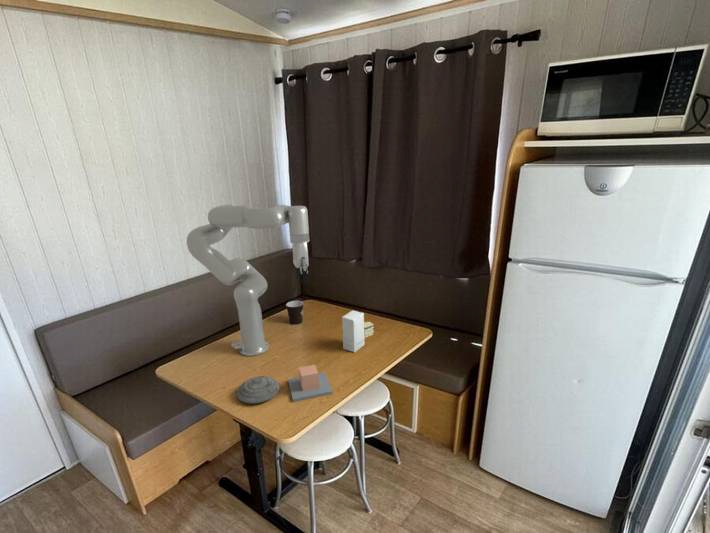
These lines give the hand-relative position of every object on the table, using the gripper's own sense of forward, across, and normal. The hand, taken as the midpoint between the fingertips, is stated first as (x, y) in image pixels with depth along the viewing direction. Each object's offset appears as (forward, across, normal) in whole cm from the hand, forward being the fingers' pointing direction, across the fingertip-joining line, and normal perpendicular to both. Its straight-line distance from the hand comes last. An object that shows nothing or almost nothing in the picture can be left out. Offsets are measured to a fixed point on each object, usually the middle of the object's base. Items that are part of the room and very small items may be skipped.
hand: (302, 279), depth 151 cm
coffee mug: (+34, -35, +1) cm, 48 cm away
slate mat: (+33, +25, -4) cm, 42 cm away
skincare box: (+34, +2, +20) cm, 39 cm away
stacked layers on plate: (+34, -8, +28) cm, 45 cm away
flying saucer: (+34, +22, -22) cm, 46 cm away
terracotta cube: (+32, +25, -4) cm, 41 cm away
